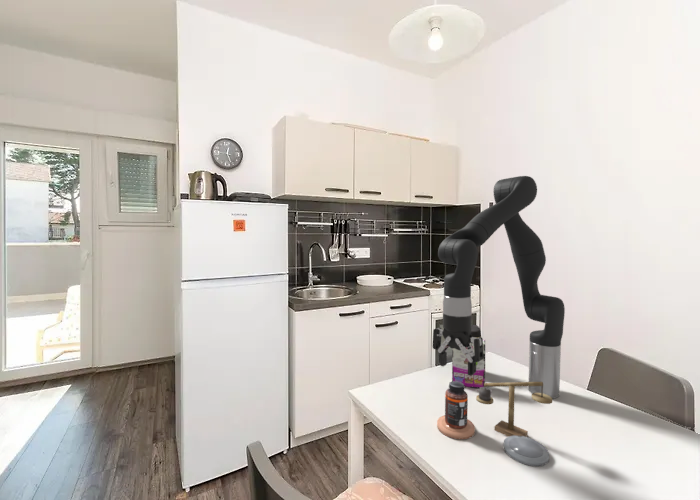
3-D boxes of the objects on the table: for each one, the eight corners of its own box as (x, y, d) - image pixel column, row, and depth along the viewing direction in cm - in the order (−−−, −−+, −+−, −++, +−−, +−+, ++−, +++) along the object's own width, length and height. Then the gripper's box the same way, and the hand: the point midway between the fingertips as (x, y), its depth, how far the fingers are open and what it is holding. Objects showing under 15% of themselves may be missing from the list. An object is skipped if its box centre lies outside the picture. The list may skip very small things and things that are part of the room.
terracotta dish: (449, 414, 101) (449, 410, 101) (481, 429, 93) (481, 424, 93) (429, 427, 94) (430, 423, 94) (462, 444, 87) (462, 439, 86)
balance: (480, 415, 100) (481, 360, 100) (553, 446, 86) (555, 382, 85) (472, 420, 97) (473, 364, 97) (547, 454, 83) (549, 387, 82)
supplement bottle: (468, 431, 90) (469, 389, 90) (445, 428, 91) (446, 387, 91) (465, 419, 96) (466, 380, 95) (444, 417, 97) (444, 378, 97)
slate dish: (513, 435, 90) (513, 430, 90) (555, 453, 83) (555, 448, 83) (496, 450, 84) (496, 445, 84) (539, 472, 76) (539, 466, 76)
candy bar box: (485, 384, 121) (486, 339, 120) (485, 390, 117) (485, 343, 116) (452, 379, 125) (453, 335, 125) (451, 384, 121) (452, 339, 120)
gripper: (488, 314, 89) (488, 374, 90) (442, 305, 100) (442, 359, 101) (474, 319, 84) (473, 382, 85) (427, 309, 95) (427, 366, 96)
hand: (456, 369), depth 93 cm, fingers open, 8 cm apart
